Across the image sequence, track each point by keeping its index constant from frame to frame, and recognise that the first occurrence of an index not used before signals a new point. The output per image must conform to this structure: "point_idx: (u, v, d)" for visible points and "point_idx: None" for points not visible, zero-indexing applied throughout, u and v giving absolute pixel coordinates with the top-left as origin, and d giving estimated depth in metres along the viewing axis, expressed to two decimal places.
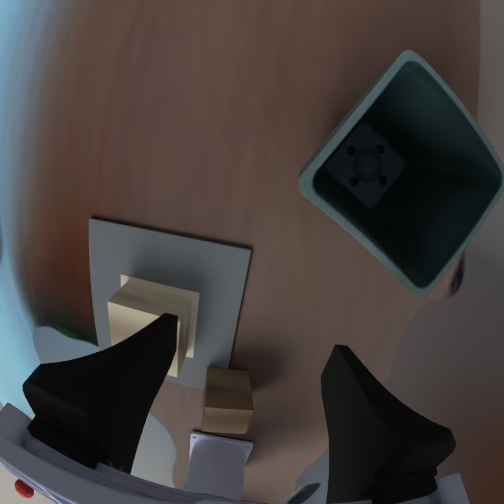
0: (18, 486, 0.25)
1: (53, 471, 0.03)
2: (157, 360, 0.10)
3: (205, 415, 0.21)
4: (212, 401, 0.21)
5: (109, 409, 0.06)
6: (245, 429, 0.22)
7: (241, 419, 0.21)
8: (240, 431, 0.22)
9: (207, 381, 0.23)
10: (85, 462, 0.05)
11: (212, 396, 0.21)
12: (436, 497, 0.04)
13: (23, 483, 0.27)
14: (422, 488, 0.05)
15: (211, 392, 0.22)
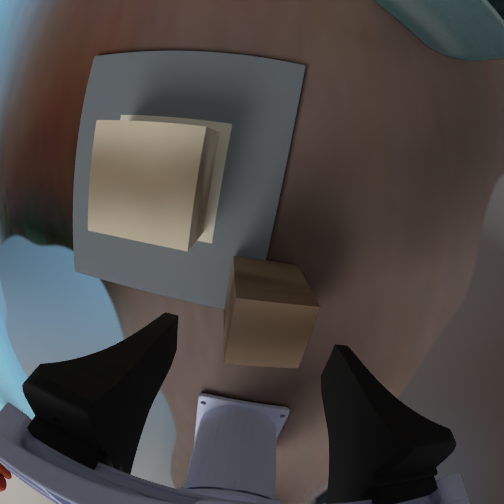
0: None
1: (53, 471, 0.03)
2: (157, 360, 0.10)
3: (234, 321, 0.13)
4: (248, 291, 0.13)
5: (109, 409, 0.06)
6: (299, 357, 0.14)
7: (297, 331, 0.13)
8: (289, 361, 0.14)
9: (236, 269, 0.15)
10: (85, 462, 0.05)
11: (247, 286, 0.14)
12: (436, 497, 0.04)
13: None
14: (422, 488, 0.05)
15: (244, 281, 0.14)
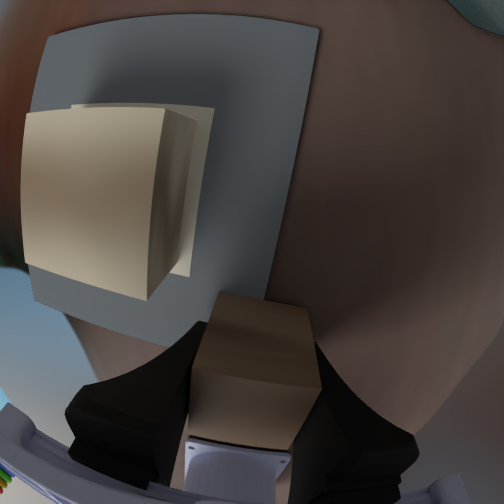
0: None
1: (53, 471, 0.03)
2: None
3: (193, 393, 0.08)
4: (215, 357, 0.08)
5: (164, 428, 0.06)
6: (289, 439, 0.09)
7: (285, 414, 0.08)
8: (275, 443, 0.09)
9: (213, 315, 0.11)
10: (85, 462, 0.05)
11: (217, 346, 0.09)
12: (436, 497, 0.04)
13: None
14: None
15: (217, 337, 0.09)
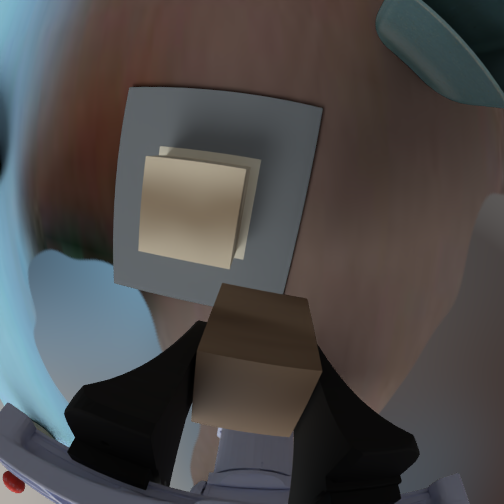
0: (6, 478, 0.21)
1: (53, 471, 0.03)
2: None
3: (197, 378, 0.09)
4: (219, 341, 0.09)
5: (164, 428, 0.06)
6: (291, 426, 0.09)
7: (287, 398, 0.09)
8: (278, 430, 0.09)
9: (217, 304, 0.11)
10: (85, 462, 0.05)
11: (221, 331, 0.09)
12: (436, 497, 0.04)
13: (12, 475, 0.22)
14: None
15: (221, 323, 0.10)
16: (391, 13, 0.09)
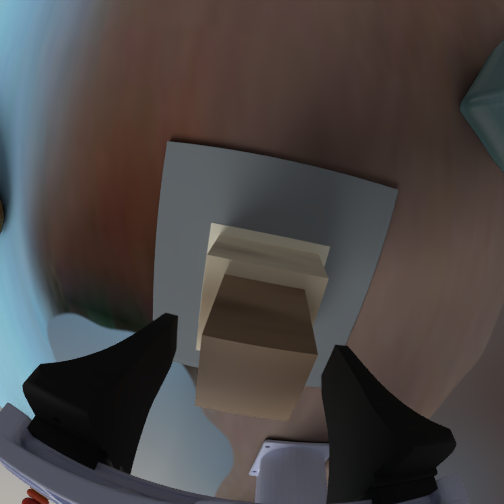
0: None
1: (53, 471, 0.03)
2: (158, 360, 0.10)
3: (202, 361, 0.10)
4: (222, 326, 0.10)
5: (109, 409, 0.06)
6: (289, 409, 0.10)
7: (286, 381, 0.10)
8: (277, 413, 0.10)
9: (219, 293, 0.12)
10: (85, 462, 0.05)
11: (224, 318, 0.10)
12: (436, 497, 0.04)
13: (32, 503, 0.21)
14: (422, 488, 0.05)
15: (223, 311, 0.11)
16: (499, 107, 0.08)
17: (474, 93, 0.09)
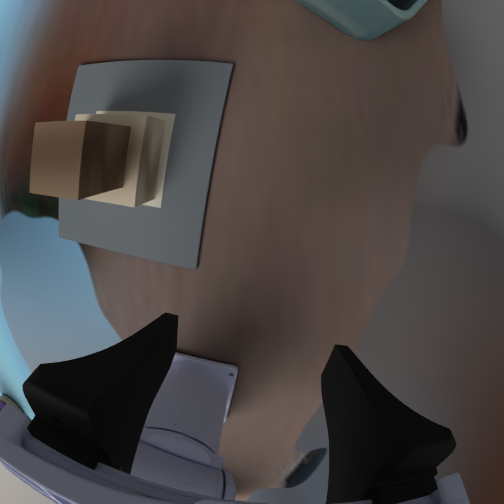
0: None
1: (53, 471, 0.03)
2: (157, 360, 0.10)
3: (33, 144, 0.11)
4: None
5: (109, 409, 0.06)
6: (76, 183, 0.12)
7: (71, 149, 0.11)
8: (70, 190, 0.12)
9: None
10: (85, 462, 0.05)
11: None
12: (436, 497, 0.04)
13: None
14: (422, 488, 0.05)
15: None
16: None
17: None
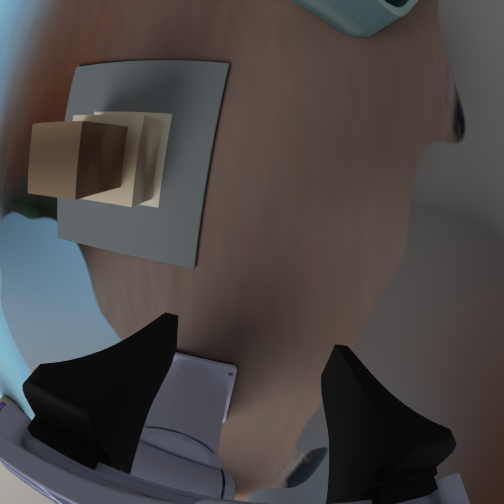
0: None
1: (53, 471, 0.03)
2: (158, 360, 0.10)
3: (31, 145, 0.11)
4: None
5: (109, 409, 0.06)
6: (73, 183, 0.12)
7: (68, 149, 0.11)
8: (67, 190, 0.12)
9: None
10: (85, 462, 0.05)
11: None
12: (436, 497, 0.04)
13: None
14: (422, 488, 0.05)
15: None
16: None
17: None
